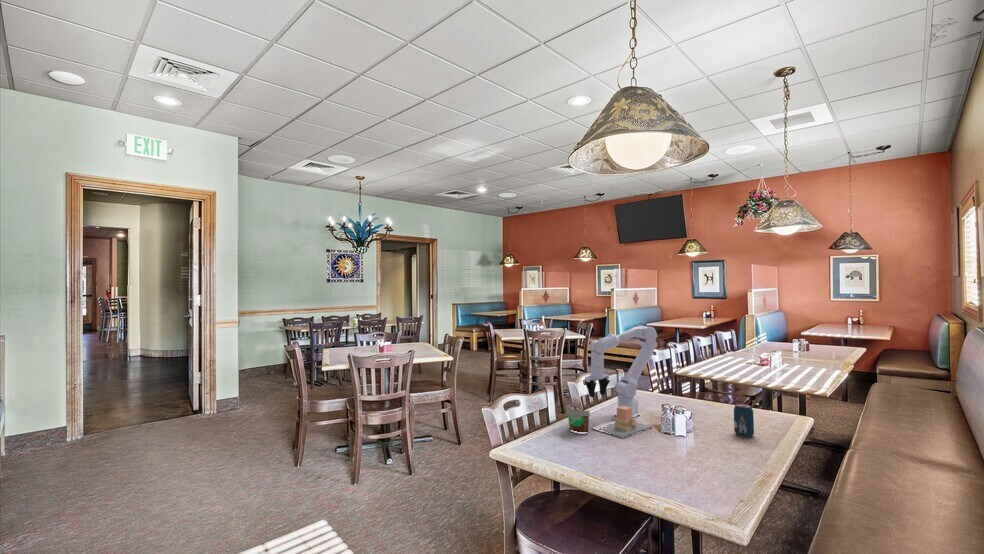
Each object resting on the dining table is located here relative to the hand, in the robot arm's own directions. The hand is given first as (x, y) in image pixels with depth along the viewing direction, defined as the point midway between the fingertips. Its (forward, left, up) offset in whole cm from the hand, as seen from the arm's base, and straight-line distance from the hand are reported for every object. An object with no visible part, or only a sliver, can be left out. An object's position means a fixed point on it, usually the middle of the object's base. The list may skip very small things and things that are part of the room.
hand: (597, 395), depth 206 cm
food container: (+22, +6, -11) cm, 26 cm away
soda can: (-26, +53, -11) cm, 60 cm away
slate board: (+4, +16, -10) cm, 20 cm away
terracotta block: (+4, +18, -6) cm, 19 cm away
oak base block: (+4, +18, -10) cm, 21 cm away
